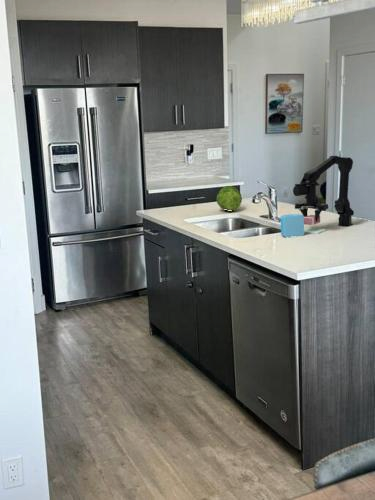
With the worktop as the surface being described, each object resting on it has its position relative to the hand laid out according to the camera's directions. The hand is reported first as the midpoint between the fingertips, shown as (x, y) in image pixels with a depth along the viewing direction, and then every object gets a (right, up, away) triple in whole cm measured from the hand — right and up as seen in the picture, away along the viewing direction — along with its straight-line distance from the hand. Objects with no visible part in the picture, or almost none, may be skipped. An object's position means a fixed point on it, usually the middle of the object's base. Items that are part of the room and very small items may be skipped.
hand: (311, 221), depth 342 cm
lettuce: (-41, +12, +91) cm, 101 cm away
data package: (-12, -9, -9) cm, 17 cm away
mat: (0, -6, +1) cm, 6 cm away
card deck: (0, -1, 0) cm, 1 cm away
